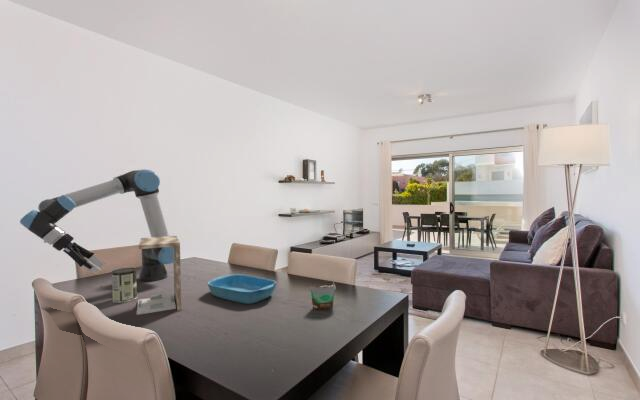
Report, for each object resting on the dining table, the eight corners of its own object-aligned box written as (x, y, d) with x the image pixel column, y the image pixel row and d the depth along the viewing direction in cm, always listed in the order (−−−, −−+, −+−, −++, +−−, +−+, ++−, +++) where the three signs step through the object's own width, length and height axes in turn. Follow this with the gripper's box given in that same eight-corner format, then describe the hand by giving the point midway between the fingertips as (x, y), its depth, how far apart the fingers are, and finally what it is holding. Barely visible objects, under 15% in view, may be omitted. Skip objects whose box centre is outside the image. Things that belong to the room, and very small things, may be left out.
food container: (316, 313, 136) (315, 289, 136) (309, 308, 142) (309, 285, 142) (341, 308, 142) (341, 285, 142) (334, 303, 147) (334, 282, 147)
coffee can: (126, 294, 162) (125, 266, 162) (142, 297, 159) (141, 268, 159) (106, 301, 153) (106, 271, 152) (123, 304, 149) (122, 273, 149)
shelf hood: (140, 316, 134) (138, 245, 133) (142, 299, 155) (140, 238, 154) (181, 310, 141) (179, 242, 140) (177, 294, 162) (176, 235, 162)
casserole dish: (199, 295, 162) (198, 281, 161) (233, 284, 180) (233, 271, 180) (252, 310, 141) (252, 293, 141) (285, 295, 160) (285, 281, 160)
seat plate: (136, 314, 136) (136, 308, 136) (138, 301, 152) (138, 296, 152) (175, 308, 143) (175, 303, 143) (173, 296, 159) (173, 291, 159)
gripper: (58, 241, 154) (97, 269, 161) (43, 250, 131) (89, 281, 139) (72, 229, 156) (110, 257, 163) (59, 236, 134) (103, 268, 141)
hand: (100, 269), depth 151 cm, fingers open, 13 cm apart
